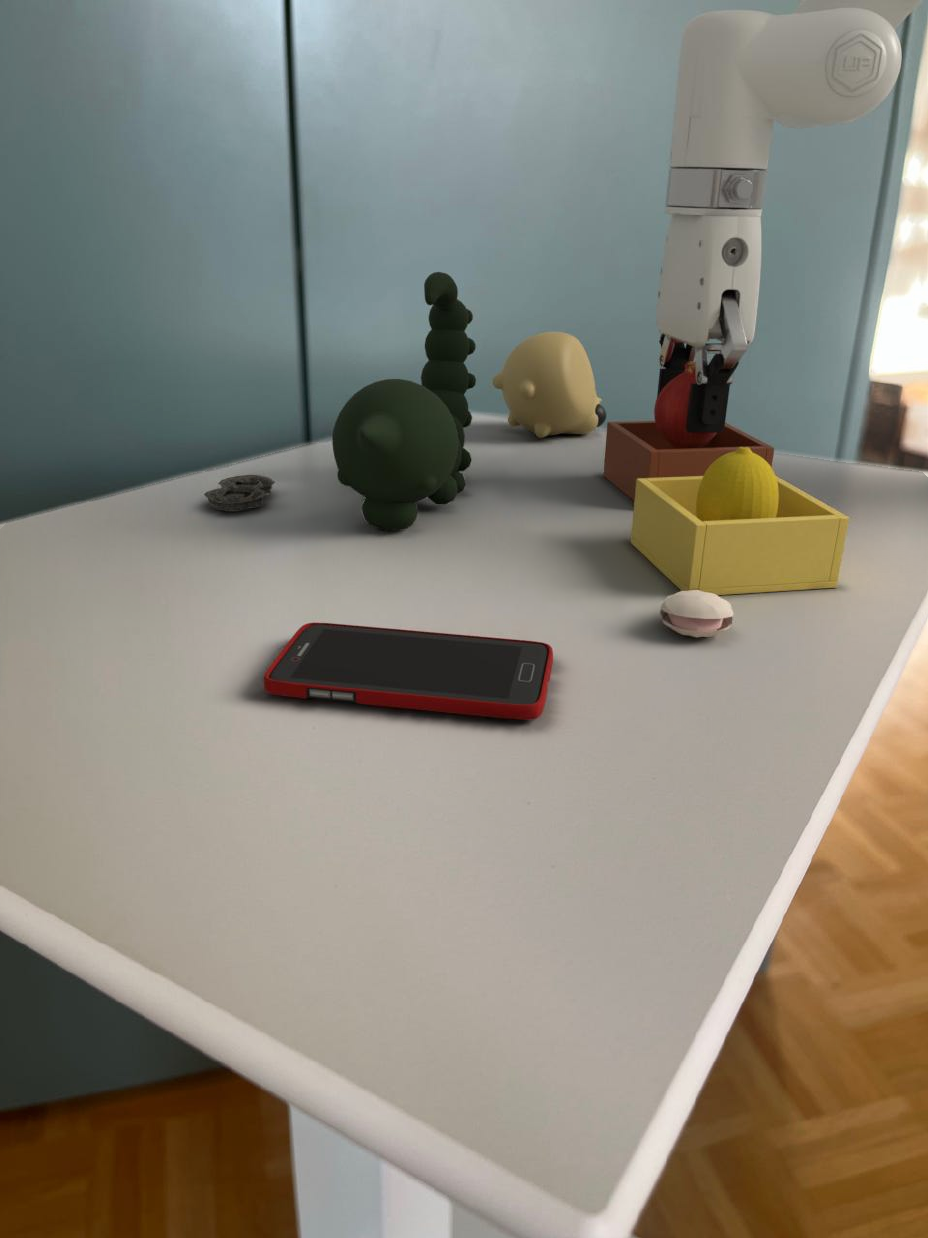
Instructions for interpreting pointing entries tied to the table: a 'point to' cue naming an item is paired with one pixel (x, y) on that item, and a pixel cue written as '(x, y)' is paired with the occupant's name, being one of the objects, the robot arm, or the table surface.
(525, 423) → the toy pig
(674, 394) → the onion
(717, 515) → the lemon
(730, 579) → the yellow bin
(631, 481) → the brown bin
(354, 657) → the cell phone
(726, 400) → the robot arm
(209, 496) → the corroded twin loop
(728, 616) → the macaroon
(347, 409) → the toy figurine
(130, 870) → the table surface
